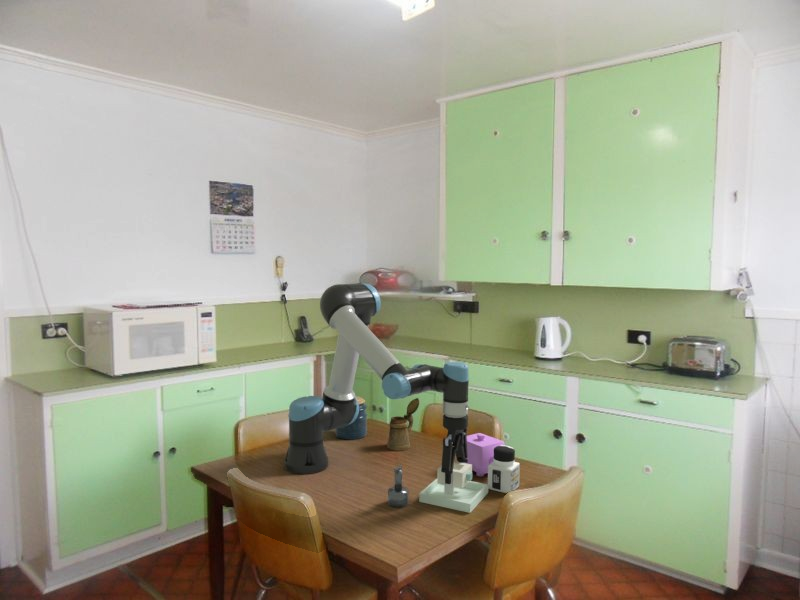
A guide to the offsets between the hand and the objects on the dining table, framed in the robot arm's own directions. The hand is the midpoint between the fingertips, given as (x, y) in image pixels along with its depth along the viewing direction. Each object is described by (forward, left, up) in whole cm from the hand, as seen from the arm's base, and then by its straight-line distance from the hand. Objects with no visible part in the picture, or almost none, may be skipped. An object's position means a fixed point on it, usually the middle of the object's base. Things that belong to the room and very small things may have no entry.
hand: (454, 488), depth 174 cm
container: (+11, +14, -3) cm, 18 cm away
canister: (-60, +37, -3) cm, 71 cm away
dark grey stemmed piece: (-13, -12, -3) cm, 18 cm away
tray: (0, 0, -3) cm, 3 cm away
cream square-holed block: (0, 0, +2) cm, 2 cm away
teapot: (+1, +24, -3) cm, 24 cm away
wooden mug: (-35, +35, -3) cm, 50 cm away
